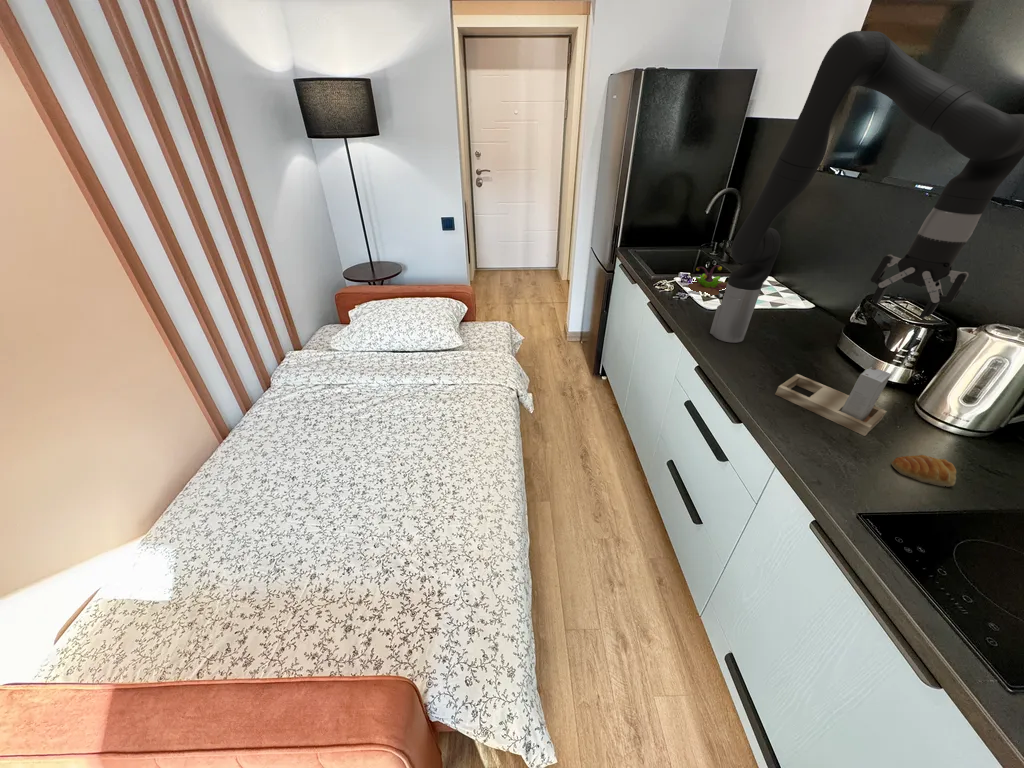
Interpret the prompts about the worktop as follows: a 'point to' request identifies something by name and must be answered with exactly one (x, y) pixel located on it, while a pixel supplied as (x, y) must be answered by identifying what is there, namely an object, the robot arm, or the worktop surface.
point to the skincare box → (865, 393)
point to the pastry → (926, 469)
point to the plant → (708, 282)
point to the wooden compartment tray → (827, 403)
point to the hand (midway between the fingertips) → (898, 309)
